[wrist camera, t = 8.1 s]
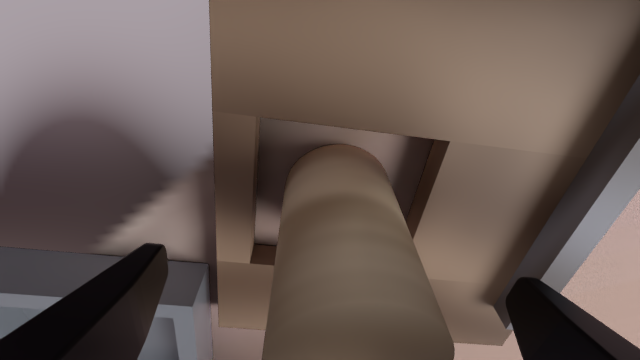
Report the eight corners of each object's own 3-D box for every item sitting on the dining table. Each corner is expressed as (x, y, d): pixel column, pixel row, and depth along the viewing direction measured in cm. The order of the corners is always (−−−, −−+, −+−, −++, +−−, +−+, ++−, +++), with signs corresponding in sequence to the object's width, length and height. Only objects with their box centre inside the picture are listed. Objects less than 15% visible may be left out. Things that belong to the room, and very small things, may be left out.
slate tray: (213, 374, 17) (202, 417, 15) (50, 365, 16) (19, 410, 14) (208, 263, 13) (192, 306, 11) (-10, 245, 12) (-63, 288, 10)
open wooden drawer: (491, 325, 15) (514, 368, 14) (224, 306, 14) (212, 350, 12) (875, -263, 6) (1094, -359, 4) (213, -448, 5) (163, -674, 3)
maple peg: (375, 235, 12) (421, 415, 7) (280, 226, 12) (257, 407, 7) (400, 151, 10) (486, 309, 5) (290, 138, 10) (267, 293, 5)
